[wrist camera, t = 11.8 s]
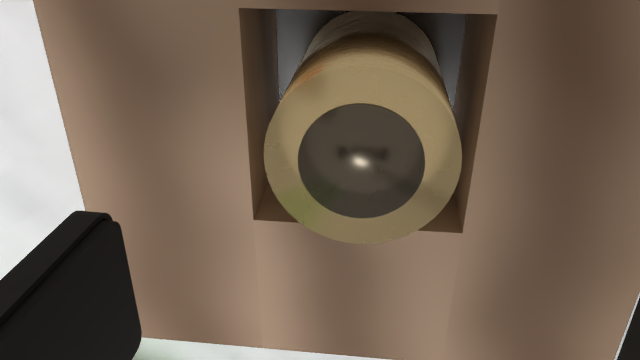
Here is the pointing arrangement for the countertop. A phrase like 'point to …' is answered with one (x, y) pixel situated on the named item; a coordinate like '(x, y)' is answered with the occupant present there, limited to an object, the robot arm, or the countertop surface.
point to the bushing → (365, 132)
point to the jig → (349, 258)
